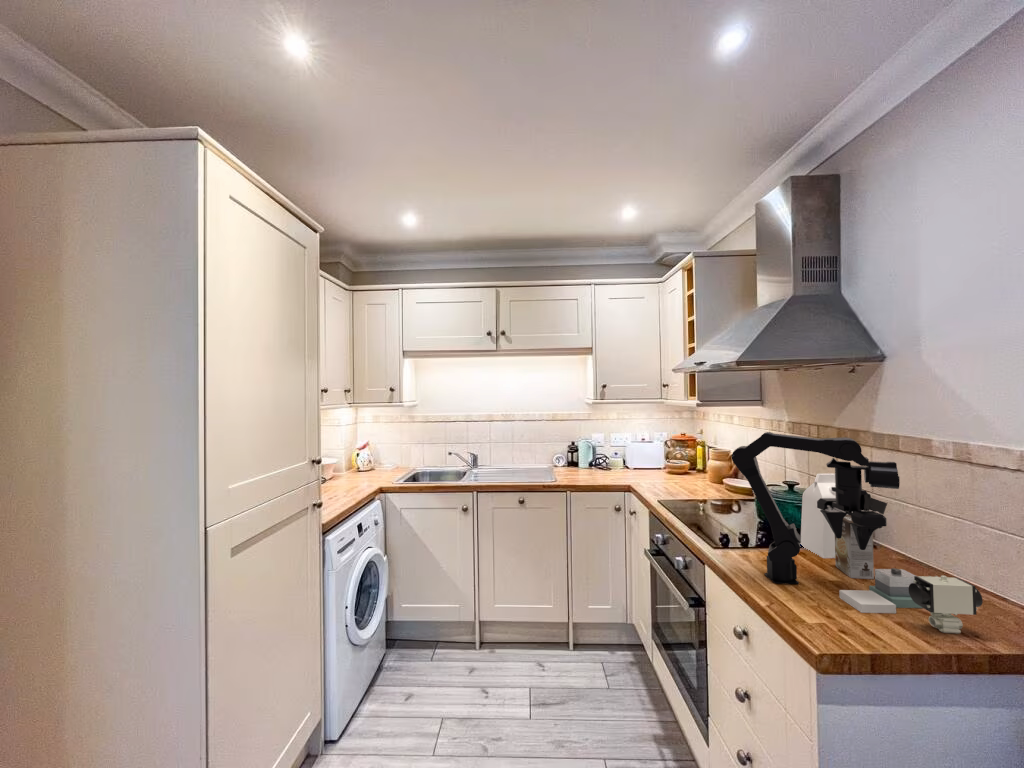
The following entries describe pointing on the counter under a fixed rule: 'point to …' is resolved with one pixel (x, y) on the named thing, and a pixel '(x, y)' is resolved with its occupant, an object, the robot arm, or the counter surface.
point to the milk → (817, 518)
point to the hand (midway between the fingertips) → (850, 543)
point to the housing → (893, 582)
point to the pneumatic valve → (945, 600)
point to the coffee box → (853, 553)
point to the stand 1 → (867, 601)
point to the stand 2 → (897, 599)
